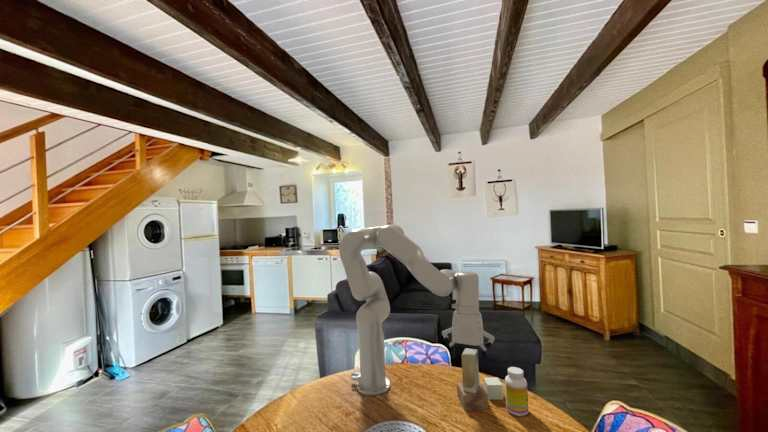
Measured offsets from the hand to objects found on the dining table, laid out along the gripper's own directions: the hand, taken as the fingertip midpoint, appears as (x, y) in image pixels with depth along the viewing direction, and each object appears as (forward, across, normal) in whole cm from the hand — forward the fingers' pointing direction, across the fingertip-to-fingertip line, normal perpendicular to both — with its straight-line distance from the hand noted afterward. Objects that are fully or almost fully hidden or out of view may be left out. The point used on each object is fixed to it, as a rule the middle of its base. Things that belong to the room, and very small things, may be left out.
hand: (467, 358), depth 105 cm
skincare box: (+10, +1, 0) cm, 10 cm away
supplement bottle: (+14, +15, -1) cm, 21 cm away
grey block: (+14, +8, +6) cm, 18 cm away
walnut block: (+15, +1, 0) cm, 15 cm away
